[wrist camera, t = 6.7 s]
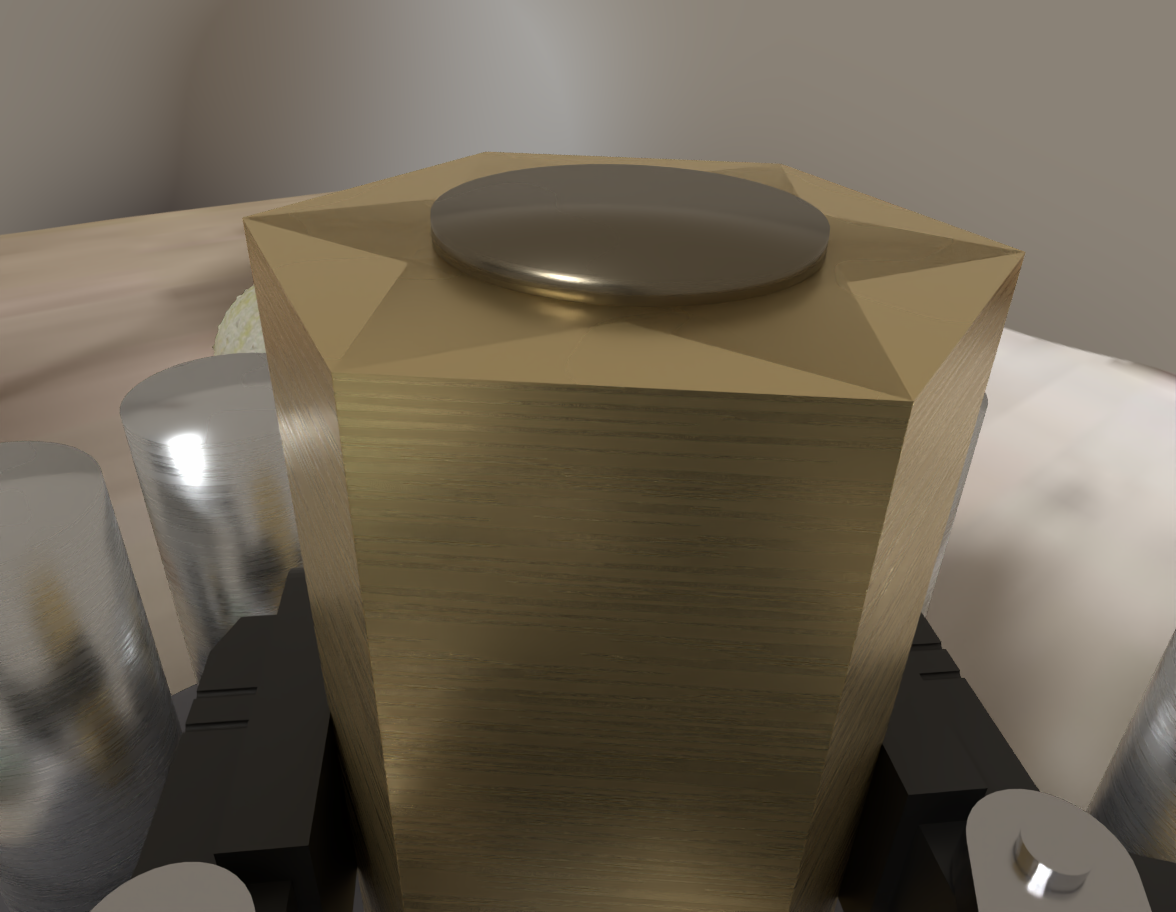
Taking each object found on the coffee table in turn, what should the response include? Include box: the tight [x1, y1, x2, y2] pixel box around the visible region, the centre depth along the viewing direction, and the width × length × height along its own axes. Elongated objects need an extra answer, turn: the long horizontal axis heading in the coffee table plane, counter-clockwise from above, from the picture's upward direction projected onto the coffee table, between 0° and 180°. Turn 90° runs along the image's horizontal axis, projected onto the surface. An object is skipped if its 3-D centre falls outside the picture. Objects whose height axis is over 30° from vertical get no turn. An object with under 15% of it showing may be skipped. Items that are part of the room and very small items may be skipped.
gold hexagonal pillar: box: [242, 152, 1025, 912], centre depth 9 cm, size 5×4×12 cm
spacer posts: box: [0, 353, 1176, 912], centre depth 13 cm, size 16×14×8 cm
